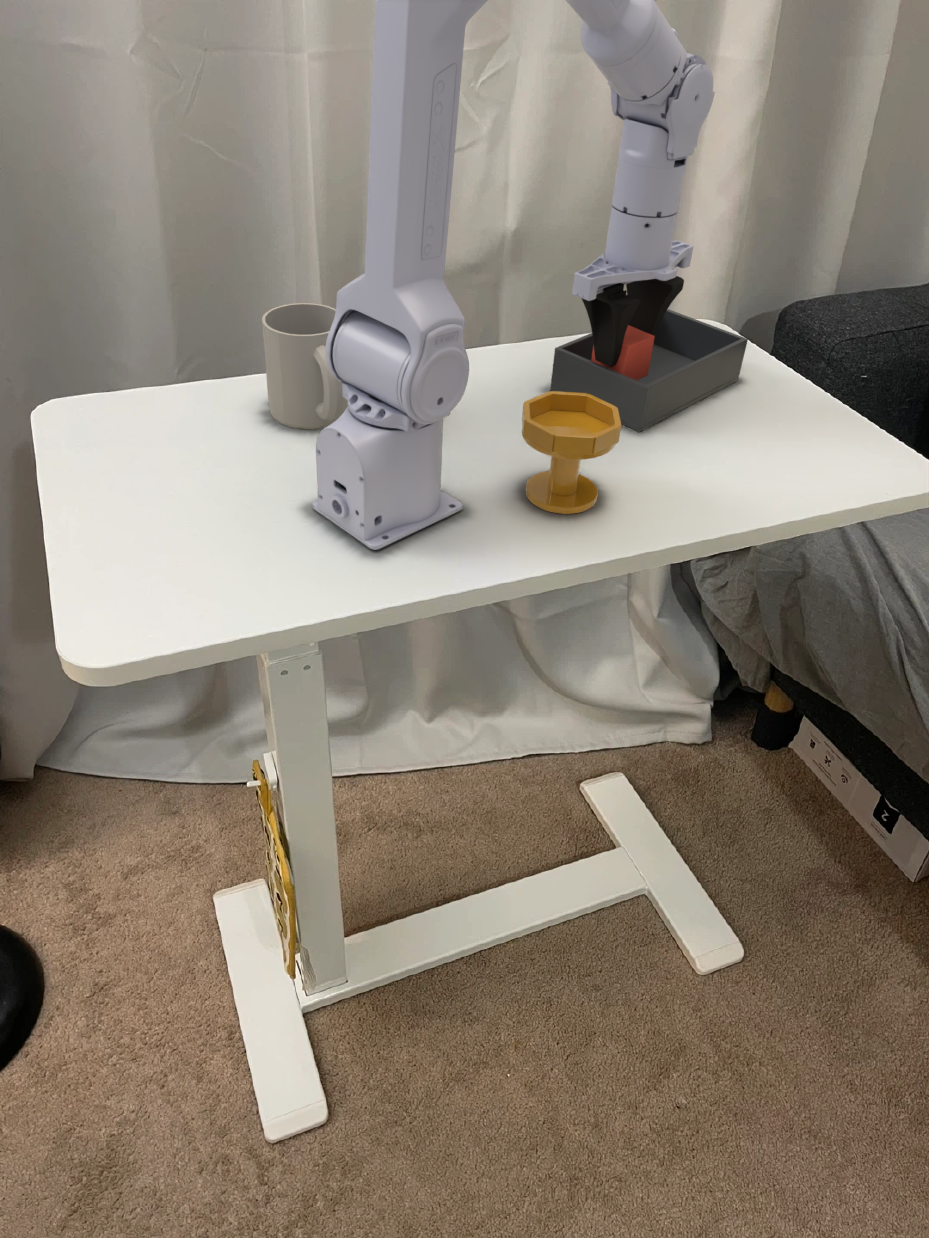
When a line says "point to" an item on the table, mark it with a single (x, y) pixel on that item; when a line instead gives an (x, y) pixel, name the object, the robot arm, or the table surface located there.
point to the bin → (656, 370)
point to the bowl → (567, 446)
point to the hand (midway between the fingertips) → (620, 356)
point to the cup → (301, 366)
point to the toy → (633, 354)
